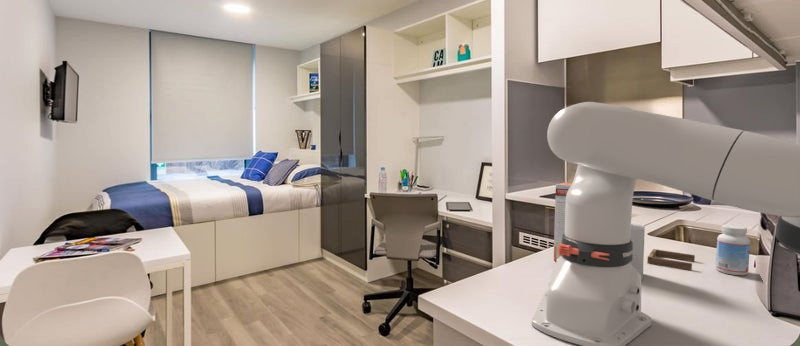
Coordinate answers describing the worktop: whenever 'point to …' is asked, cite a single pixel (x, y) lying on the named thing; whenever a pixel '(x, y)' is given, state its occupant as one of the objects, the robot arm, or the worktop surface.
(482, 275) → the worktop surface
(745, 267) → the pill bottle
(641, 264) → the skincare box
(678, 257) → the stop
